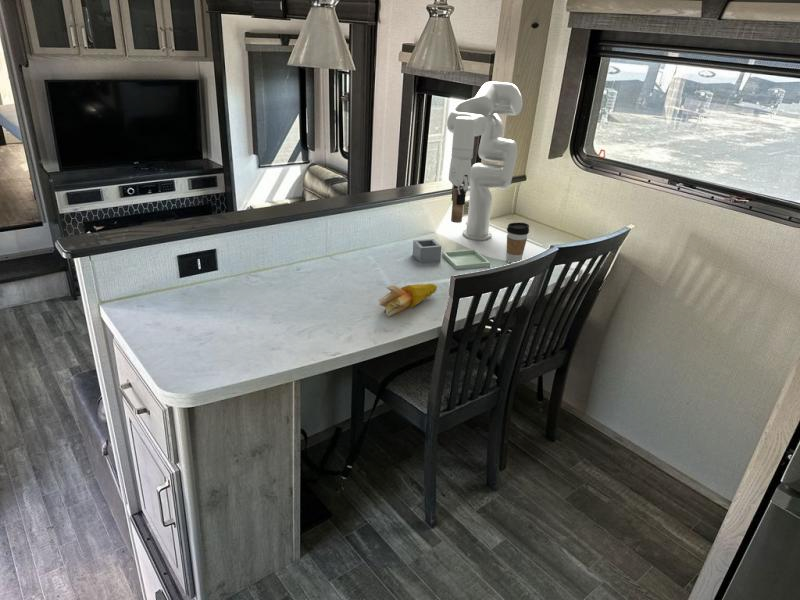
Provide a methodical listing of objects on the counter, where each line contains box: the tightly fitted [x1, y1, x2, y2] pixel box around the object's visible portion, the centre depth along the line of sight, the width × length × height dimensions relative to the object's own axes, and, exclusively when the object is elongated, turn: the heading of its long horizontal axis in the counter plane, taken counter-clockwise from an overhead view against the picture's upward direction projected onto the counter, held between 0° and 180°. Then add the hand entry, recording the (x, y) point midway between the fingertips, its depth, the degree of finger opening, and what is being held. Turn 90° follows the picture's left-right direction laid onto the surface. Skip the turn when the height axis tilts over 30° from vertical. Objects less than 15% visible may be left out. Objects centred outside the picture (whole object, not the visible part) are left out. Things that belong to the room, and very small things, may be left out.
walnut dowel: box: [450, 188, 464, 224], centre depth 214 cm, size 4×4×12 cm
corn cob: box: [377, 283, 438, 319], centre depth 187 cm, size 8×8×25 cm
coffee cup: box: [505, 222, 530, 264], centre depth 224 cm, size 8×8×15 cm
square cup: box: [412, 238, 442, 264], centre depth 223 cm, size 8×8×7 cm
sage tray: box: [441, 248, 491, 270], centre depth 223 cm, size 14×14×2 cm
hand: (458, 202), depth 213 cm, fingers closed on walnut dowel, 4 cm apart
